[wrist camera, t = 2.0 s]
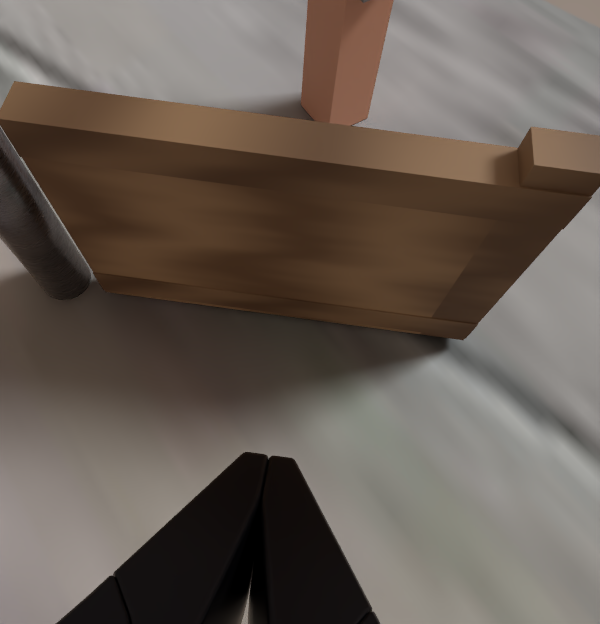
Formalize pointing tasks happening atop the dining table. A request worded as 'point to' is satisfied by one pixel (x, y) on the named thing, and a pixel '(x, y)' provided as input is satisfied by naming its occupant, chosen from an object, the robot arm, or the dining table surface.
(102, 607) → the robot arm
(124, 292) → the gate
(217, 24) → the dining table surface
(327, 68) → the post
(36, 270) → the hinge post
